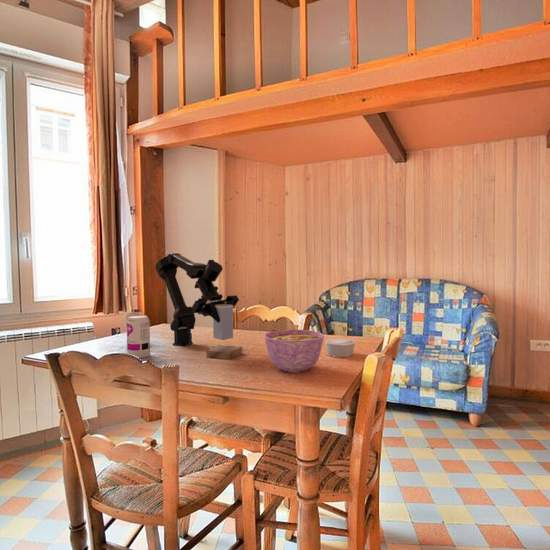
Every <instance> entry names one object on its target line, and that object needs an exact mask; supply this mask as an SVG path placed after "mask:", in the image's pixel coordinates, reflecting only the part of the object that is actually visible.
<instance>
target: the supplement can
mask: <svg viewBox="0 0 550 550" xmlns="http://www.w3.org/2000/svg"><path fill="white" fill-rule="evenodd" d="M150 322H151V321H150V318H149V317H148V315H144V314H142V315H139V316H130V317H128V320H127V328H126V344H127V345H126V348H127V349H126V351H127V353H129V354H132V355H135V356H137V357H139V358H138V359H144V358H148V357H149V356H150V355H151V332H150V331H151V327H150V325H151V324H150Z"/></svg>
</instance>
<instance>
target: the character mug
mask: <svg viewBox="0 0 550 550" xmlns="http://www.w3.org/2000/svg"><path fill="white" fill-rule="evenodd" d="M139 315H143V312H138V311H136V312H135V311H134V312H132V311H131V312H125V313H124V324H125V326H124V328H125V329H127V320H128V317H130V316H139Z"/></svg>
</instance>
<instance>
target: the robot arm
mask: <svg viewBox="0 0 550 550" xmlns="http://www.w3.org/2000/svg"><path fill="white" fill-rule="evenodd" d="M154 268H155V270H156V273H157V275H158V276H159V278H161V279H162V280H163V281H164V282H165V286H166V289H167V292H168V294H169V297H170V300H171V303H172V306H173V308H174V312H173V316H172V317H173V320H172V322H171V323H170V325H169V326H170V331H173V332H174V333H173V334H174V335H173V336H174V341H173V343H172V345H173V346H185V347H186V346H188V345H191V344H193V343H194V341H193V335H192V332H191V331H192V330H194V329H195V324H196V320H197V319H196V316H195V315H196V314H198V315H202V316H203V317H211V318H212V320H213V319H214V320H216V321H217V322H218V323H219V322H220V318H219V315H218V313H217V310H216V308H215V305H218V304H229V305H233V309H234V308H235V306H236V305H237V303H239V301H240V299H239V297H238V295H236V294H234V295H232V294H231V295H227V296H226V298H225V299H222V298H223V294H220V292H218V290H219V287H218V286H215V284H214V282H216V281H217V279H218V278H219V276H220V274H221V273H222V271H223V266H222V264H220V263H218V262H217V261H215V260H214V259H209V260H208V261H207V263H206V264H205V263H202V262H195V261H192V260H190V259H188V258H187V257H185V256H183V255H182V254H181V253H178V252H177V253H176V252H175V253H174V252H170V253H168V254H167V256H165V257H163V258H161V259H159V260H158V261H157V262H156V264H155V267H154ZM179 268H180V269H182V270H183V271H185V272H186V273H185V274H186V275H187V276H188V277H189V279H192V280H196V281H195V285H194V289H199V291H200V294H202V295H201V296H200V298H199V297H198V298H196V299H195V301H194V302H193V304H192V306H187V305H186V301H185V299H184V297H183V293H182V291H181V288H180V285H179V283H178V280H177V277H176V276H177V272H178V269H179Z"/></svg>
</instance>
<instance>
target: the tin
mask: <svg viewBox="0 0 550 550" xmlns="http://www.w3.org/2000/svg"><path fill="white" fill-rule="evenodd" d="M215 308H216V310H217V313H218V315H219V318H220V322H219V323H218V322H217V321H216V320H214V319H213V318H212V320H213V321H212V322H213V325H212V326H213V339H216V340H220V341H223V340H224V341H225V340H230V339H234V326H233V325H234V308H233V305H229V304H218V305H215Z"/></svg>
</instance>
